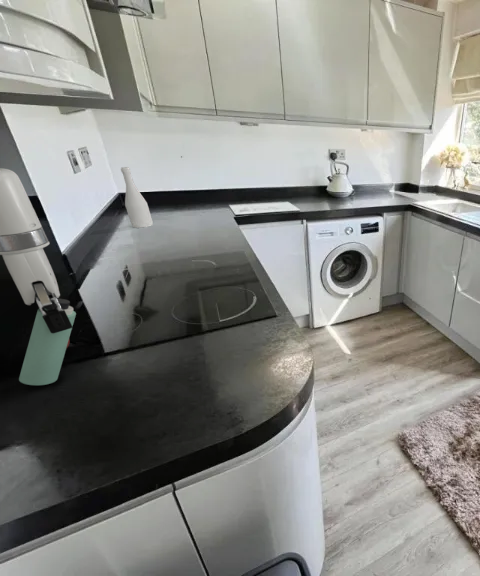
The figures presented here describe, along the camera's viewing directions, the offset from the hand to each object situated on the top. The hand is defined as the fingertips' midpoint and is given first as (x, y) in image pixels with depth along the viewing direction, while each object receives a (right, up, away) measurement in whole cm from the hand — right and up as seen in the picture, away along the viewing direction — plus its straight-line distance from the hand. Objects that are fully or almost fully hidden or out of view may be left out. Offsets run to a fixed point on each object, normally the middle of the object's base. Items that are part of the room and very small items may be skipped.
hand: (60, 323), depth 67 cm
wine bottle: (-64, +41, +109) cm, 133 cm away
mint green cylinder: (0, -4, +2) cm, 4 cm away
